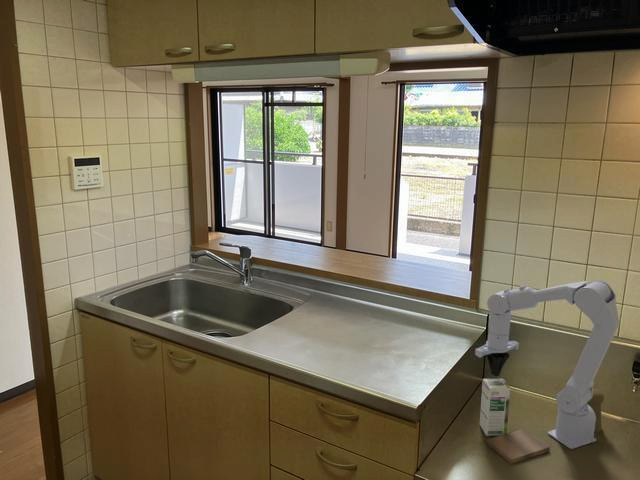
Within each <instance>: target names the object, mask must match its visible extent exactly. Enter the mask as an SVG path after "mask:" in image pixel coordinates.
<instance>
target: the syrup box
mask: <svg viewBox="0 0 640 480" xmlns="http://www.w3.org/2000/svg"><path fill="white" fill-rule="evenodd" d="M481 385H482V386H481V399H480V401H481V402H480V417H479V426H480V428H481V429H482V432H483V433H484V435H485V436H486V437H489V436H490V437H493V436H494V437H498V436H501V435H504V434H508V422H509V421H508V419H509V409H510V398H511V387H510V385H509V384H508V382H507V381H506V380H505V379H504V378H503V377H501V378H482V383H481Z"/></svg>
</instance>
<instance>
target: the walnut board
mask: <svg viewBox="0 0 640 480" xmlns="http://www.w3.org/2000/svg"><path fill="white" fill-rule="evenodd" d="M485 444H486V445H487V446H488V447H489V448H491V449H492V450H493V451H494V452H495V453H497V454H498V455H499V456H501V457H502V458H503V459H504V460H505V461H506V462H508V463H509V464H511V465H512V464H514V463H517V462H521V461H524V460H527V459H529V458H533V457H535V456H538V455H539V456H540V455H541V454H544V453H548V452H550V450H551V449H550V448H551V447H550V446H549V445H548V444H546V443H545V442H543V441H542V440H540V439H539V438H538V437H536V436H535V435H534V434H532V433H531V432H530V431H528V430H527V429H525V428H520V429H518V430H515V431H512V432H507V434H504V435H501V436H494V437H491V438H488V439H486V442H485Z"/></svg>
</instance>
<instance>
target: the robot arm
mask: <svg viewBox="0 0 640 480" xmlns="http://www.w3.org/2000/svg"><path fill="white" fill-rule="evenodd" d="M561 300H565V301H566V302H568V303H569V304H570V305H574V304H575V306H576V307H577V308H578V309H579V310H580V312H581V313H583V314H584V315H585V316H586V317H587V318H588V319H589V320H590V321H591V322H592V325H593V326H592V329H591V331H590V333H589V336H588V338H587V341H586V342H585V345H584V348H583V350H582V352H581V354H580V356H579V359H578V361H577V364H576V365H575V369H574V370H573V372H572V375H571V376H570V378H569V380H568V381H567V382H566V384H565V386H564V388H563V389H562V390H561V391H559V392H558V393H557V394H556V398H555V401H556V404H557V413H556V414H557V415H556V423H555V424H556V425H555V429H551V430H549V431H547V434H548V435H549V436H551V437H552V438H553V439H555V440H557V441H558V442H560V443H561V444H562V445H564V446H566V447H567V448H568V449H570V450H573V449H576V448H579V447H583V446H585V445H588V444H591V443H595V442H597V439H596V437H594V435H595V432H594V430H595V422H596V416H595V413H594V411H593V409H592V408H591V407H590V406H589V405H587V402H588V401H590V400H591V399H592V397H593V388H594V384H595V378H596V376H597V373H598V371H599V369H600V367H601V365H602V363H603V360H604V358H605V356H606V354H607V352H608V350H609V347H610V345H611V343H612V340H613V339H614V336H615V335H616V333H617V332H616V331H618V330H617V329H618V327H619V324H620V319H619V318H620V317H619V312H618V309H617V303H616V302H617V301H616V300H617V294H616V292H615V291H614V289H612V287H611V285H610V284H609V283H608V282H607V281H605V280H600V279H596V280H592V281H589V280H585V281H576V282H571V283H565V284H561V285H556V286H551V287H546V288H541V289H538V290H537V289H535V288H533V287H531V286H528V287H526V285H521V286H519V287H518V288H516V289H511V290H510V289H509V288H507V289H504V290H500V291H498V292H496V293H494V294H491V295H490V296H489V297H488V299H487V300H486V301H487V302H486V305H487V308H488V310H489V321H488V331H487V333H488V334H487V340H486V342H485V343H484V345H482V346H480V347H478V348H475V350H474V351H475V353H474V355H475V356H477V357H478V358H483V356H485V357H486V359H487V361H488V366H489V370H490V374H491V375H492V376H494V377H499V376H500V375H501V372H502V370H503V367H504V366H505V363H506V362H507V360H508V359H509V358H510V353H508V352H509V351H511V350H519V346H520V343H519V342H517V341H515V340H509V339H510V337H509V336H510V328H511V317H512V316H511V314H512V312H515V311H518V310H519V311H520V310H526V309H527V310H528V309H533V308H536V307H537V305H538V304H539V303H543V302H544V303H545V302H550V301H561Z"/></svg>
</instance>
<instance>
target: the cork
mask: <svg viewBox="0 0 640 480" xmlns="http://www.w3.org/2000/svg"><path fill="white" fill-rule="evenodd" d="M604 401H605V397H604V393H603V391H601V390H599V389H597V388H594V387H593V397H592V399H591V400H590V401H588V402H587V405H589V406H590V407H591V408H592V409H593V411H594V413H595V416H596V422H595V430H594V433H600V432H601V431H602V428H603V427H602V403H604Z"/></svg>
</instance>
